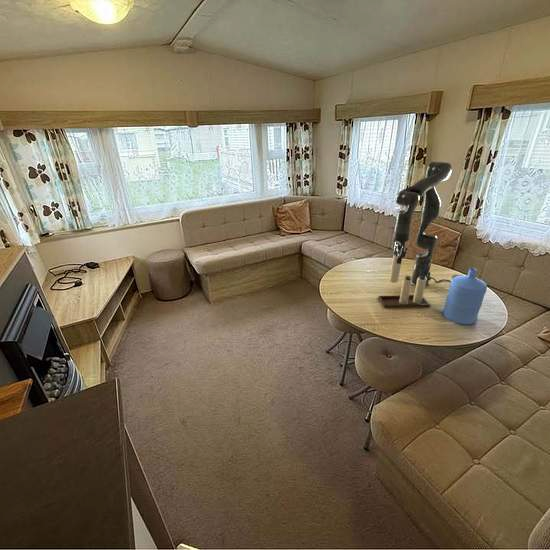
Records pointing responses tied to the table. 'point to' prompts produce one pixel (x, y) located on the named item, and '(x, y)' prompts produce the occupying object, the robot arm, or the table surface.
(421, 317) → the table surface
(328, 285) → the table surface
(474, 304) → the water jug
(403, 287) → the bottle
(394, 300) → the tray
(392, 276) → the cream pillar candle
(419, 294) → the bottle
